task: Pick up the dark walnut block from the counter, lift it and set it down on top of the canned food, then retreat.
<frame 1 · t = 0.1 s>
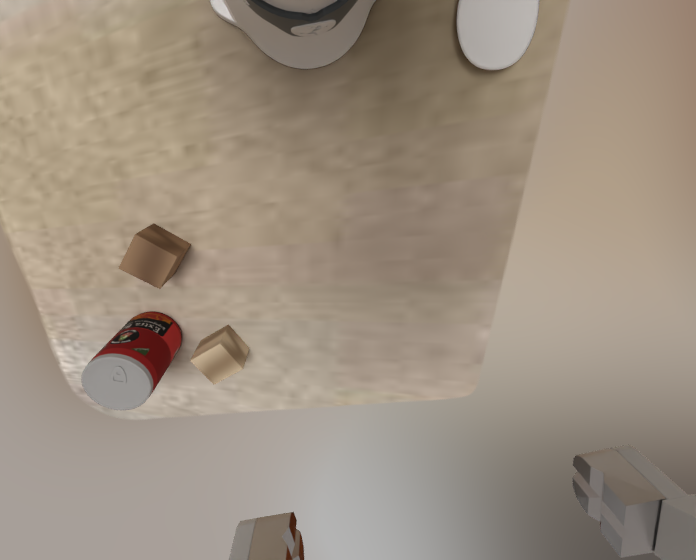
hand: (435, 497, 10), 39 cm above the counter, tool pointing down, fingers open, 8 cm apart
canned food: (156, 333, 50), on the counter
oak block: (225, 344, 52), on the counter
walnut block: (164, 249, 45), on the counter
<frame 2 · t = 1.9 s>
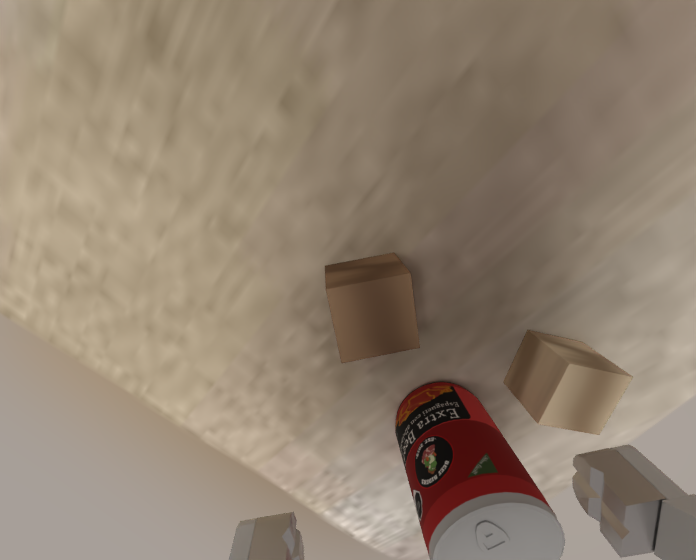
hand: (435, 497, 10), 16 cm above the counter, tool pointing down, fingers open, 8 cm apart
canned food: (436, 416, 30), on the counter
oak block: (541, 361, 29), on the counter
walnut block: (364, 290, 25), on the counter
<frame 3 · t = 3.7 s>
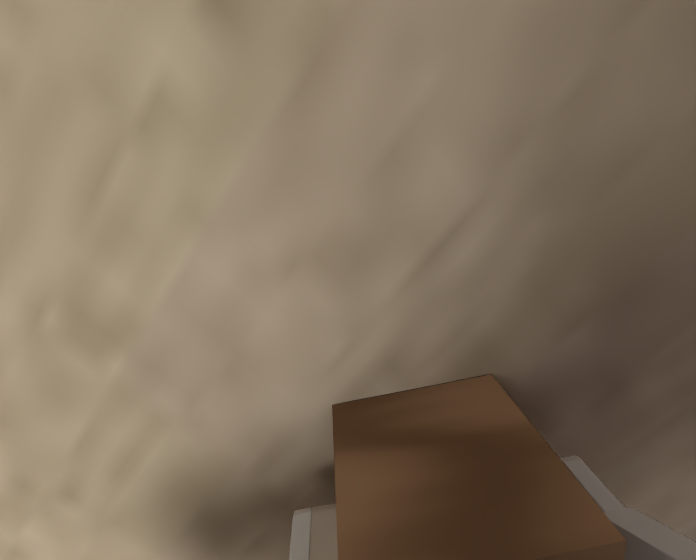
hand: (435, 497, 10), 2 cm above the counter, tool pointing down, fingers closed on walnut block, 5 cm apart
walnut block: (420, 452, 11), on the counter, touching gripper
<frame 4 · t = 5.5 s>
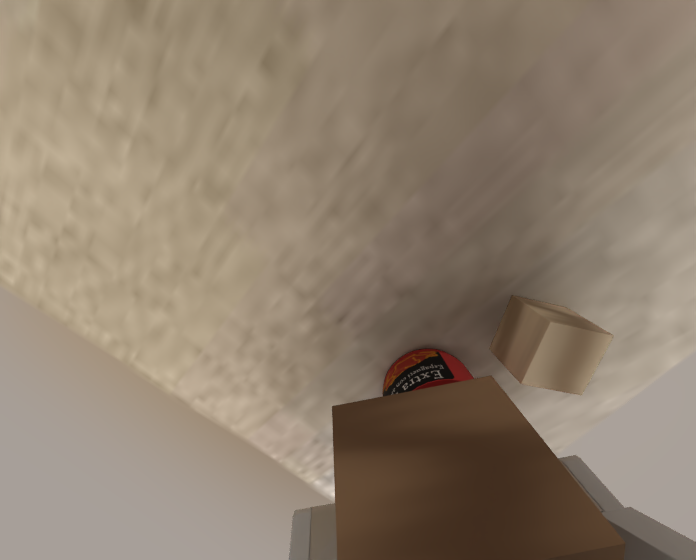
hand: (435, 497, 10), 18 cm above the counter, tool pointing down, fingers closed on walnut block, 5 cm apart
canned food: (423, 384, 30), on the counter
oak block: (526, 328, 29), on the counter
walnut block: (420, 453, 11), point 16 cm above the counter, touching gripper
when the fingers open (14 cm above the counter, at t = 7.1 s): walnut block drops 2 cm, resting on canned food.
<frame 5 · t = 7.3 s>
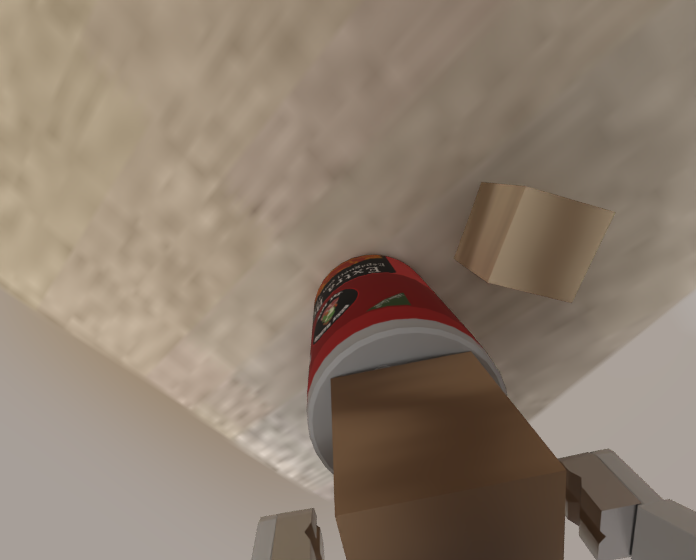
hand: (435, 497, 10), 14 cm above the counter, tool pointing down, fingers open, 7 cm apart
canned food: (371, 307, 23), on the counter, touching walnut block
oak block: (502, 231, 22), on the counter
walnut block: (409, 422, 13), point 11 cm above the counter, touching canned food
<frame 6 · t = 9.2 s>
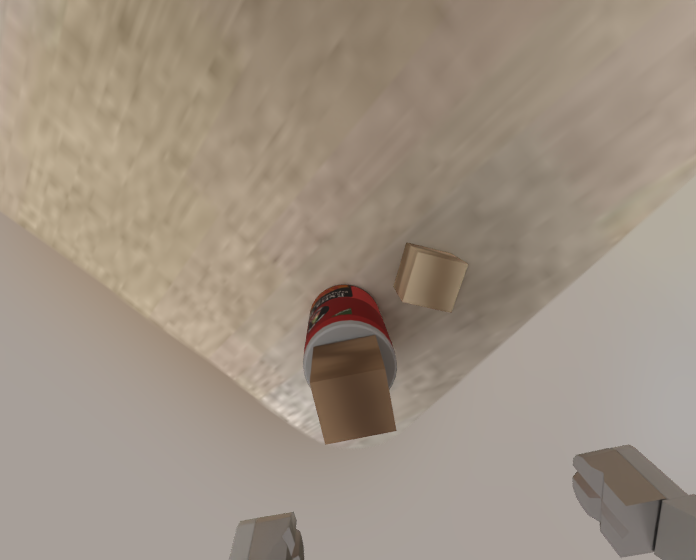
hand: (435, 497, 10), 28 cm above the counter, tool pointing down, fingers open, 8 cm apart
canned food: (344, 315, 39), on the counter, touching walnut block
oak block: (421, 269, 37), on the counter
walnut block: (350, 368, 28), point 11 cm above the counter, touching canned food
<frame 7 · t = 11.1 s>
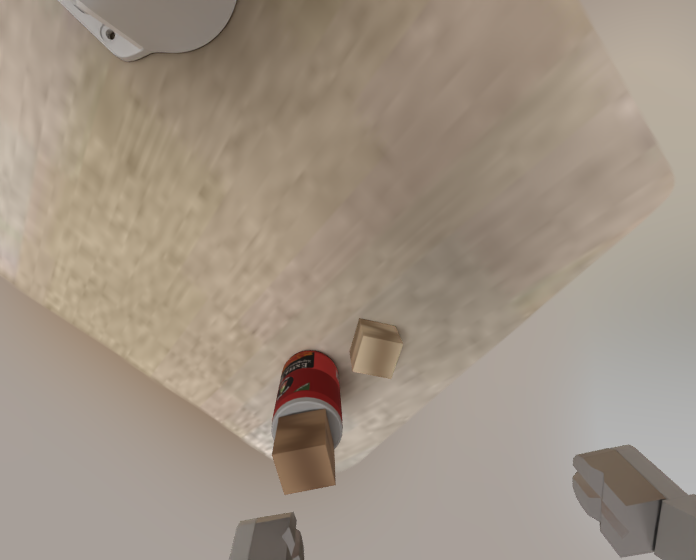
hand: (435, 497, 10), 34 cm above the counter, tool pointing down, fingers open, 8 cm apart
canned food: (310, 372, 48), on the counter, touching walnut block
oak block: (372, 338, 47), on the counter
walnut block: (306, 431, 37), point 11 cm above the counter, touching canned food
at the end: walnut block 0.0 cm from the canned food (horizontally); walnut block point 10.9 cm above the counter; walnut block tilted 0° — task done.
